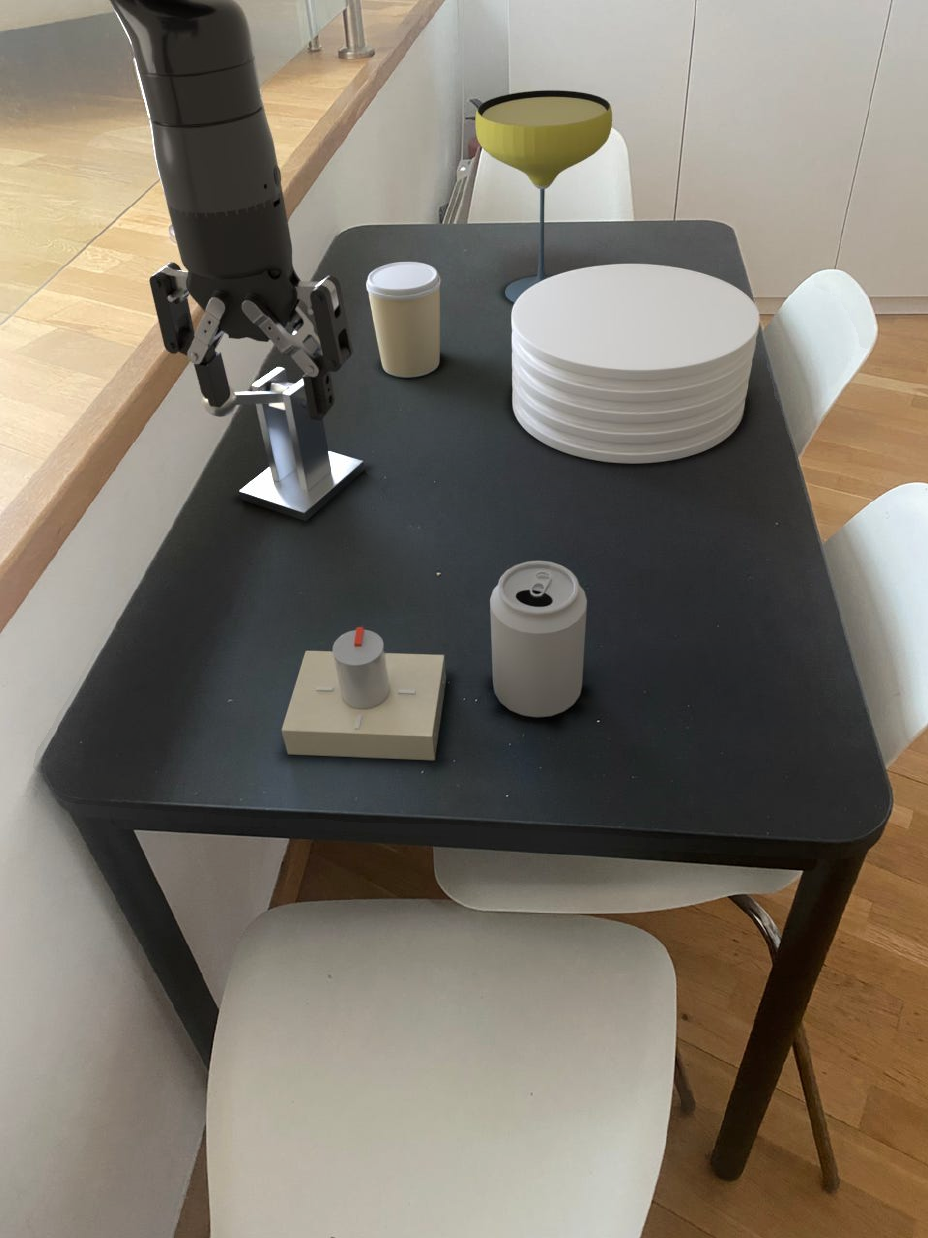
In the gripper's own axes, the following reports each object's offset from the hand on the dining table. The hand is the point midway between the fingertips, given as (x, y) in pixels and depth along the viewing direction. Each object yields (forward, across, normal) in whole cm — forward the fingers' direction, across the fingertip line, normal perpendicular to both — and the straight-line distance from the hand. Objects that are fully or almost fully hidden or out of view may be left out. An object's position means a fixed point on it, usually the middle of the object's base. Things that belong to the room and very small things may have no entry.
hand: (270, 408), depth 71 cm
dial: (+19, +9, -10) cm, 23 cm away
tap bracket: (+22, -11, +20) cm, 32 cm away
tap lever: (+11, -12, +15) cm, 22 cm away
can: (+23, +22, -3) cm, 32 cm away
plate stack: (+23, +21, +47) cm, 56 cm away
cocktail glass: (+23, +3, +76) cm, 79 cm away
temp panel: (+22, +9, -10) cm, 26 cm away
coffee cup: (+23, -8, +50) cm, 56 cm away
